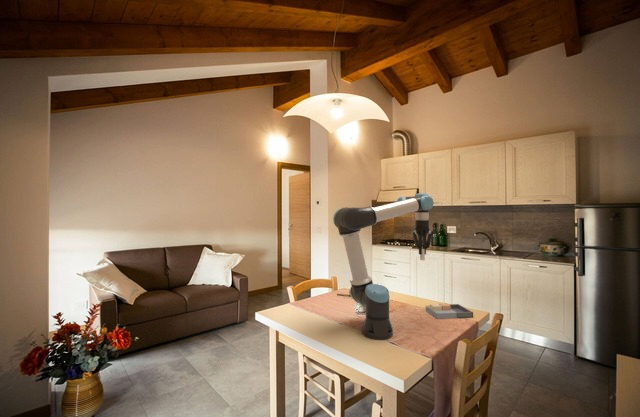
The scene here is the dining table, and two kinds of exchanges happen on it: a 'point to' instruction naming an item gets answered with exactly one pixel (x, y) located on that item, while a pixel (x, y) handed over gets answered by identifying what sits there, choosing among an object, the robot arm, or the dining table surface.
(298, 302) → the dining table surface
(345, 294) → the wooden toy
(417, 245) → the robot arm
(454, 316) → the plate
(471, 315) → the box
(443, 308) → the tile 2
